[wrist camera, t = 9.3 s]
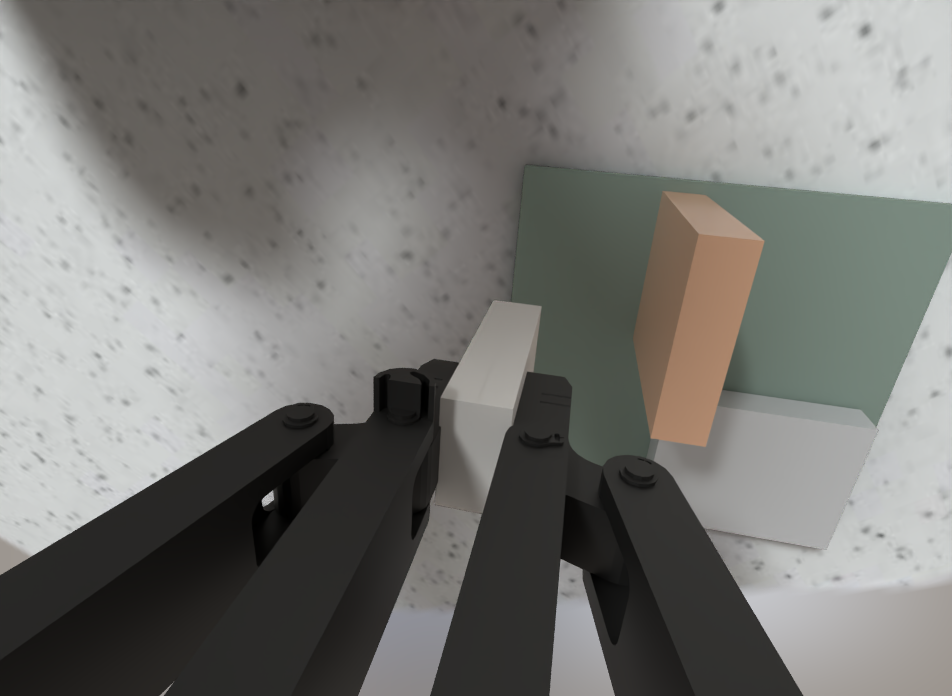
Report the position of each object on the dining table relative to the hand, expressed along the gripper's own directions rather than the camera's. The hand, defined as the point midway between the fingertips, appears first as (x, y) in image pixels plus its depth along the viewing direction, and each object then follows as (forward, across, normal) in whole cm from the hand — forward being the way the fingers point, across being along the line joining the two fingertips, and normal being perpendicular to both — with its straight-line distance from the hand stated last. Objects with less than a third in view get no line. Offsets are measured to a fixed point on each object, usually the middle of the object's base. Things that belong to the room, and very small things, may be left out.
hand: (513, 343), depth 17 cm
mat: (+11, +8, -4) cm, 14 cm away
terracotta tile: (+10, +6, 0) cm, 11 cm away
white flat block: (+9, +7, -8) cm, 14 cm away
